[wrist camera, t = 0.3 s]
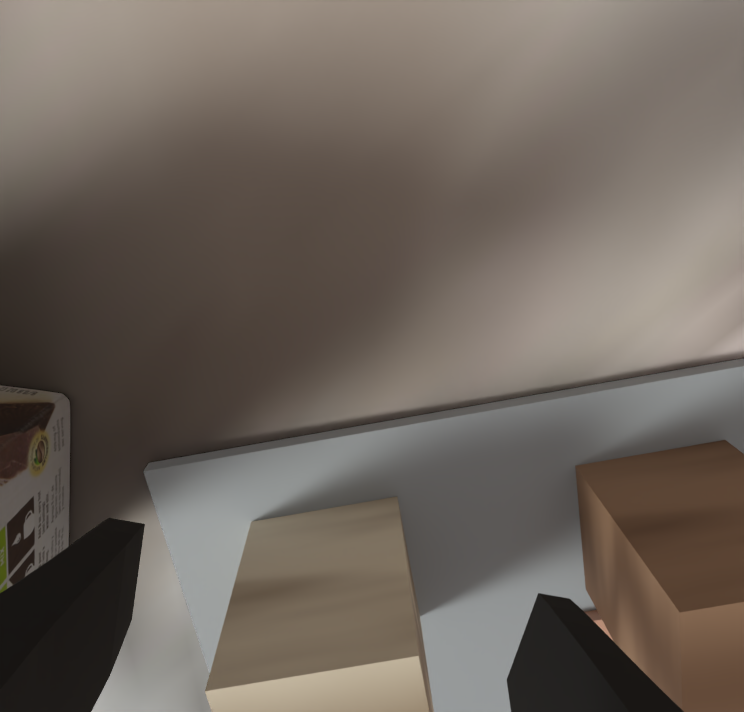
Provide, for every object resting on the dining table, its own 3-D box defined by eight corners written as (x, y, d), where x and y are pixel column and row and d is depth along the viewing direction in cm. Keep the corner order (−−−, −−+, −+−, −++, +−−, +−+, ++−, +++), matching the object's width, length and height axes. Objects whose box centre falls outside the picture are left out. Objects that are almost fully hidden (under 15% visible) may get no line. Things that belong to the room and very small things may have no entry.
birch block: (419, 616, 23) (448, 810, 16) (283, 639, 23) (255, 841, 16) (397, 496, 21) (418, 655, 14) (251, 521, 21) (205, 691, 15)
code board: (790, 736, 26) (800, 750, 25) (264, 820, 26) (262, 836, 26) (806, 347, 20) (819, 353, 20) (148, 462, 21) (143, 471, 20)
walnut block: (725, 565, 22) (884, 741, 16) (585, 588, 22) (684, 773, 16) (725, 439, 21) (901, 575, 14) (575, 465, 21) (679, 612, 14)
